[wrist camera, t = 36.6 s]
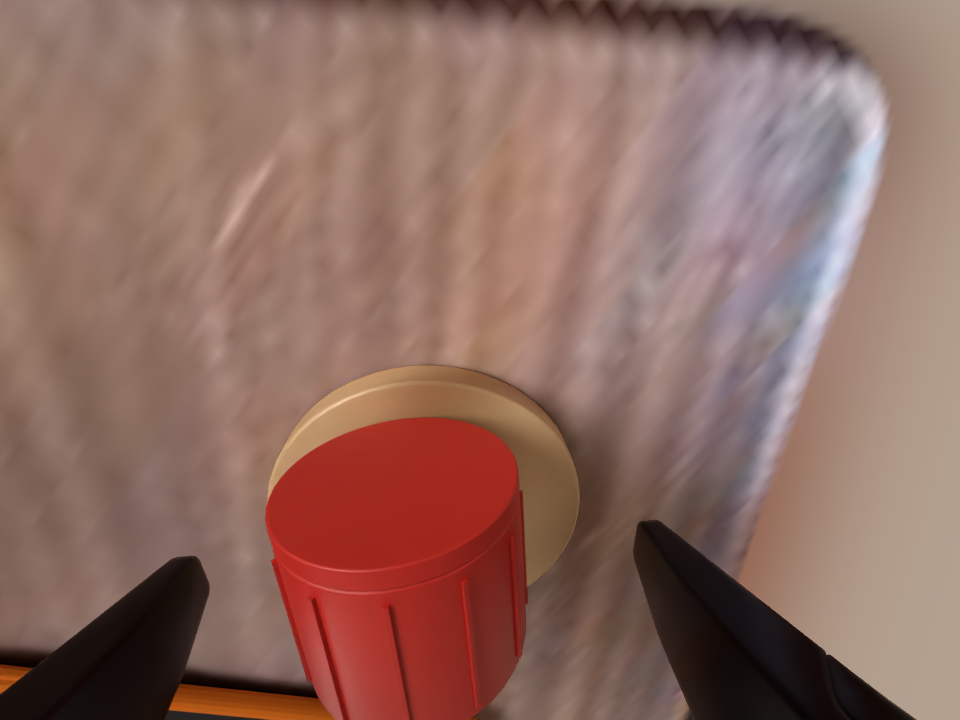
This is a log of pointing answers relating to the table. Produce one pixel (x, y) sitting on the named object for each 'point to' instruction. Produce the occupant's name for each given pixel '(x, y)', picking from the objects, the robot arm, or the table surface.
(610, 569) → the table surface
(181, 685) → the smartphone
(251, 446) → the table surface
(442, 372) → the coaster
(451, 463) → the cap
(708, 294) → the table surface
